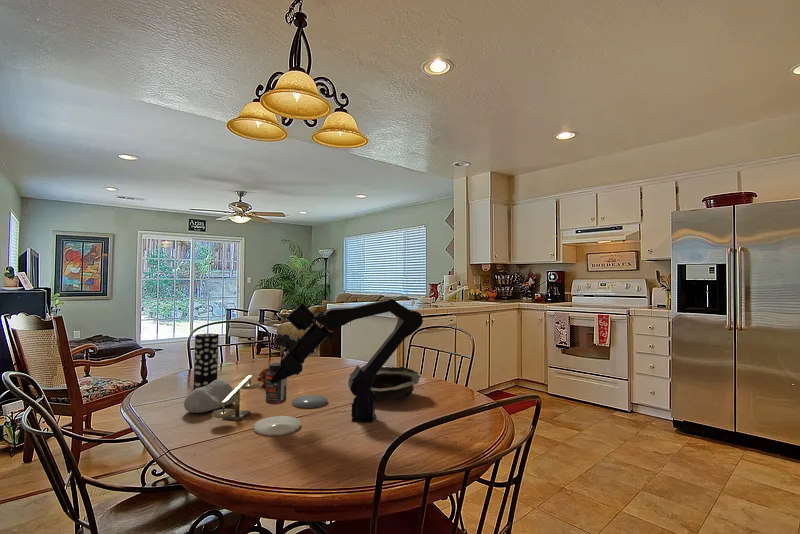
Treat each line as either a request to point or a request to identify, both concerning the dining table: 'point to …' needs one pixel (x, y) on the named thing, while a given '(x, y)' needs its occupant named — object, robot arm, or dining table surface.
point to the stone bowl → (394, 382)
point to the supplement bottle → (275, 387)
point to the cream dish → (277, 425)
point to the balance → (236, 402)
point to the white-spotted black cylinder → (205, 359)
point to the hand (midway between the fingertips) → (271, 379)
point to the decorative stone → (208, 397)
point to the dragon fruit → (263, 376)
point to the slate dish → (309, 401)
